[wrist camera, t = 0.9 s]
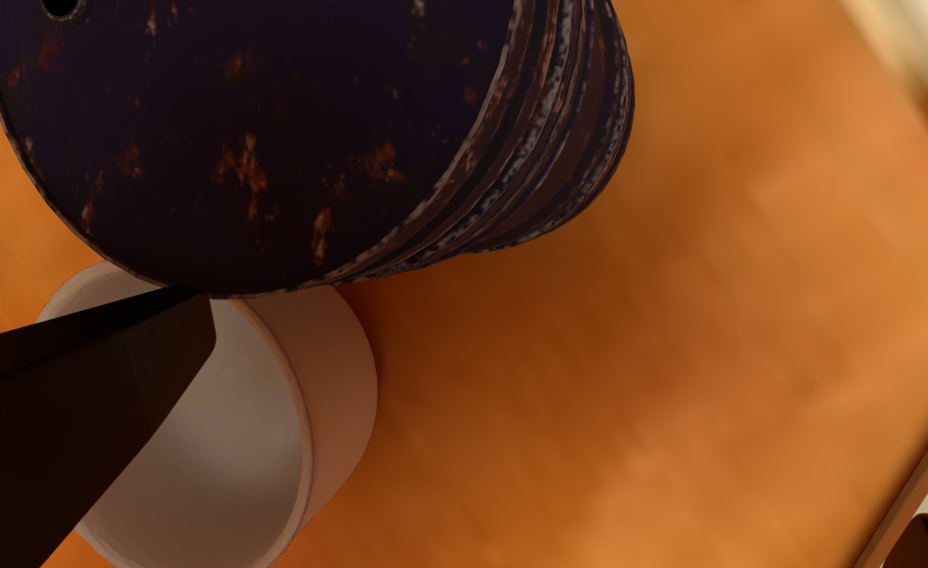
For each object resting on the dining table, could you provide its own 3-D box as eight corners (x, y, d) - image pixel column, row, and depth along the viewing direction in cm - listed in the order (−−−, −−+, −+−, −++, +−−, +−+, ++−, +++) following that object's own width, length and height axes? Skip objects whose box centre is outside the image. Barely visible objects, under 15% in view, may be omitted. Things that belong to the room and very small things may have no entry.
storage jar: (648, -53, 22) (555, -521, 8) (632, 252, 23) (526, 334, 9) (369, -26, 25) (-58, -320, 11) (369, 240, 26) (-15, 286, 12)
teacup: (350, 198, 26) (210, 197, 19) (456, 457, 26) (357, 561, 18) (106, 320, 31) (-83, 358, 24) (194, 540, 31) (31, 649, 23)
